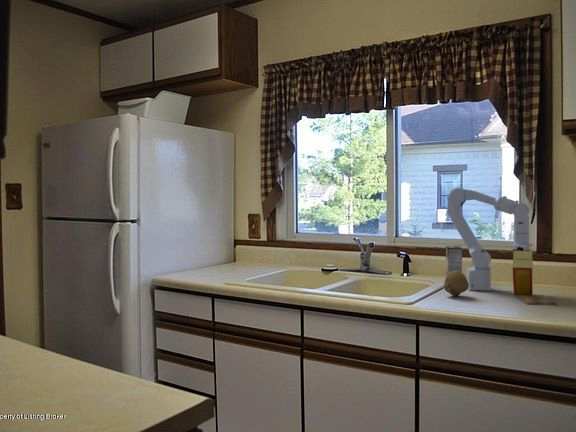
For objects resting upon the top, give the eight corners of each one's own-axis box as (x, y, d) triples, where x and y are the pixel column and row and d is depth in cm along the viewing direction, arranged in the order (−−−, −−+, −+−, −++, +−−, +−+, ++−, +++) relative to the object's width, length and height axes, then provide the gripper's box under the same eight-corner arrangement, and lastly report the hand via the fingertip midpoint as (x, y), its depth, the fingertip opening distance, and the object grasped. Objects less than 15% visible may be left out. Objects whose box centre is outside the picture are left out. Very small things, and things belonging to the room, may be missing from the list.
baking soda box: (532, 296, 196) (531, 268, 186) (513, 295, 199) (512, 267, 189) (532, 278, 202) (532, 249, 193) (515, 277, 205) (513, 249, 196)
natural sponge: (473, 296, 198) (473, 270, 197) (461, 299, 192) (461, 273, 192) (452, 293, 205) (452, 268, 204) (440, 296, 199) (440, 270, 198)
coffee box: (445, 280, 236) (445, 245, 236) (459, 280, 235) (459, 245, 234) (447, 283, 227) (447, 247, 227) (462, 283, 226) (462, 247, 225)
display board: (526, 304, 182) (526, 302, 182) (514, 296, 196) (514, 294, 196) (556, 304, 181) (556, 302, 181) (542, 297, 195) (542, 295, 195)
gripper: (538, 234, 196) (538, 269, 197) (525, 231, 211) (526, 264, 211) (519, 234, 197) (519, 269, 198) (508, 231, 211) (508, 264, 212)
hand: (521, 266), depth 204 cm, fingers closed
